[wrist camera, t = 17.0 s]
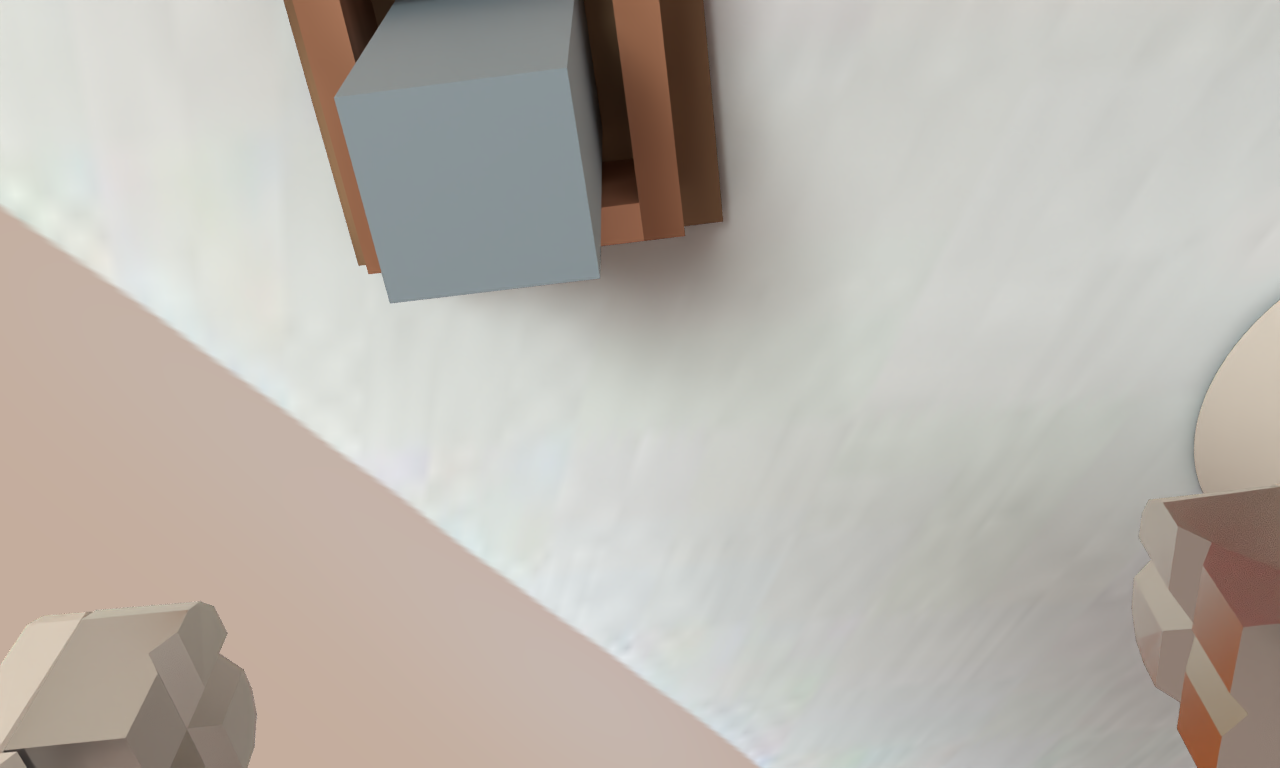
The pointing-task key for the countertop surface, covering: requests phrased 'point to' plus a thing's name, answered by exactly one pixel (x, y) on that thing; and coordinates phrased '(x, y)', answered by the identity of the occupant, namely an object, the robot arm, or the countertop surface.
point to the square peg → (477, 146)
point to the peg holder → (628, 101)
